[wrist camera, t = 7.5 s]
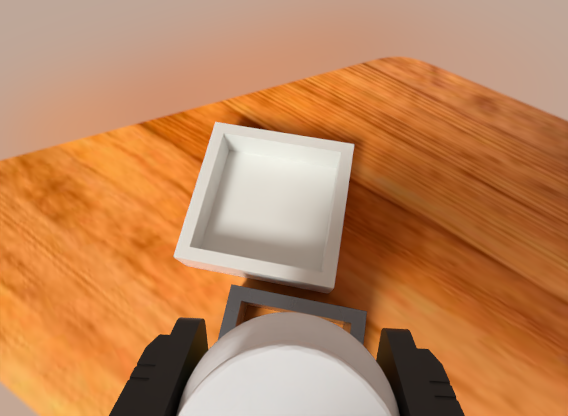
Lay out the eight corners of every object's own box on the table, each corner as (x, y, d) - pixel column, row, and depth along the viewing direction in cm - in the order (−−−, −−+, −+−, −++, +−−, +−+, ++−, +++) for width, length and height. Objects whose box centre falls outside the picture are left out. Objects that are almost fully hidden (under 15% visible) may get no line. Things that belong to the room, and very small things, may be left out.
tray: (347, 164, 26) (354, 144, 24) (328, 293, 23) (333, 288, 20) (223, 143, 27) (215, 121, 24) (187, 266, 24) (173, 256, 21)
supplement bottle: (226, 325, 15) (125, 310, 6) (345, 316, 15) (421, 288, 6) (227, 469, 13) (83, 758, 4) (363, 459, 13) (513, 726, 4)
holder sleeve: (357, 314, 22) (366, 311, 20) (340, 457, 20) (349, 477, 17) (238, 290, 23) (231, 284, 20) (206, 425, 20) (193, 440, 18)
